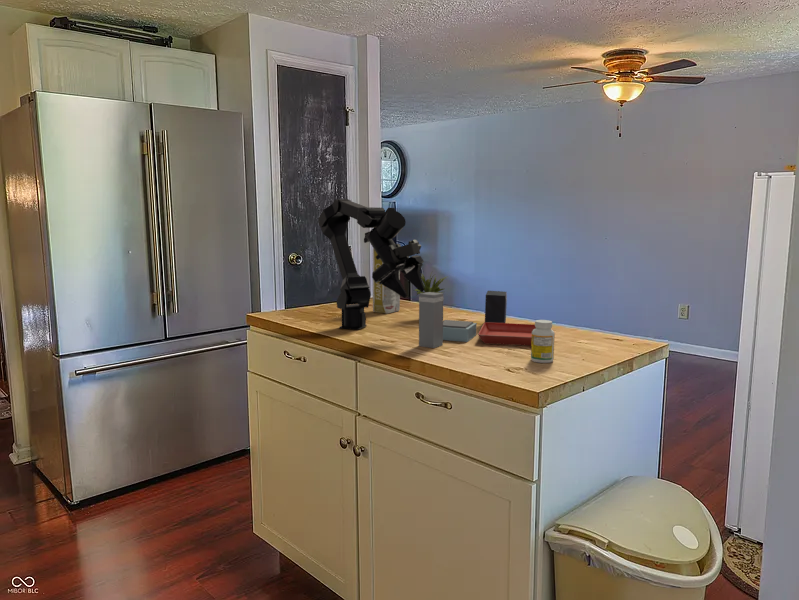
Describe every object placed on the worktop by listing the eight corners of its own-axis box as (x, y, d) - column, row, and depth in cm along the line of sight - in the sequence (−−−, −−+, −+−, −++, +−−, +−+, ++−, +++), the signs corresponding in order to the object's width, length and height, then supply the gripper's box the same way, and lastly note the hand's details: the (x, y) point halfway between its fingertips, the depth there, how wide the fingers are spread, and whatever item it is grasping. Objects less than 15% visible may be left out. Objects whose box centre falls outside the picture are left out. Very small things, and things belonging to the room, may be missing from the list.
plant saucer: (546, 349, 158) (546, 337, 157) (477, 345, 162) (477, 333, 162) (546, 335, 175) (546, 324, 175) (483, 333, 179) (484, 322, 179)
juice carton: (385, 308, 221) (385, 243, 218) (402, 310, 217) (403, 244, 213) (369, 312, 214) (369, 244, 210) (387, 314, 209) (387, 245, 206)
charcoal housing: (418, 345, 160) (418, 293, 158) (428, 342, 164) (428, 291, 162) (433, 348, 157) (434, 295, 155) (443, 345, 161) (443, 293, 159)
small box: (505, 329, 184) (506, 295, 182) (484, 328, 185) (484, 294, 183) (506, 323, 194) (507, 290, 192) (486, 322, 195) (486, 290, 194)
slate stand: (432, 339, 169) (433, 325, 168) (443, 332, 178) (443, 319, 177) (467, 341, 165) (467, 327, 165) (476, 335, 174) (476, 321, 174)
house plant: (397, 321, 196) (397, 271, 194) (412, 314, 209) (413, 267, 206) (438, 324, 191) (439, 273, 188) (452, 317, 203) (452, 269, 201)
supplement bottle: (547, 364, 141) (548, 324, 139) (526, 360, 144) (527, 321, 143) (557, 360, 145) (559, 321, 143) (537, 356, 148) (538, 318, 147)
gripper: (385, 233, 155) (417, 284, 153) (421, 227, 171) (451, 273, 169) (358, 257, 161) (388, 306, 159) (395, 249, 177) (423, 293, 175)
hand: (414, 294), depth 165 cm, fingers open, 9 cm apart
